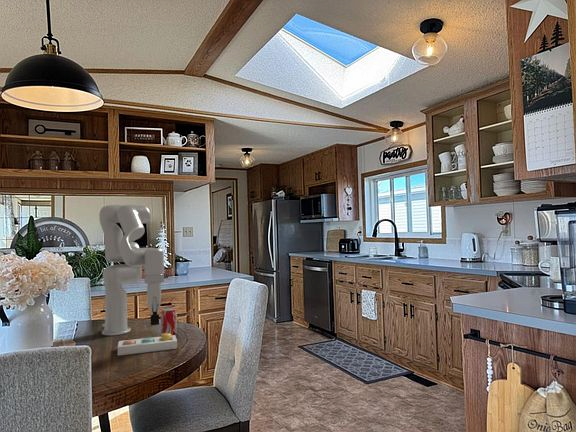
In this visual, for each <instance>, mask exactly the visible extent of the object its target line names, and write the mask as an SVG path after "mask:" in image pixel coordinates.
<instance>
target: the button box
mask: <svg viewBox="0 0 576 432" xmlns="http://www.w3.org/2000/svg"><path fill="white" fill-rule="evenodd" d="M146 338H147V337H144V338H136V339H132V340H134V341H135V344H130V345H124V341H127V339H126V340H119V341H118V344H117V356H126V355H133V354H142V353H143V354H144V353H151V352H159V351H167V350H168V351H169V350H176V349H178V339H177V336H176V335H171V340H166V341H161V336H153V337H151V338H153V342H148V343H143V339H146Z"/></svg>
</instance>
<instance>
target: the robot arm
mask: <svg viewBox="0 0 576 432" xmlns="http://www.w3.org/2000/svg"><path fill="white" fill-rule="evenodd" d="M151 215H152V214H151V211H150V209H149V207H148V206H146V205H142V204H141V205H138V204H136V205H135V204H126V205H125V204H124V205H123V204H108V205H105V206H103V207H101V208H100V210H99V215H98V216H99V224H100V226H101V229H102V231H103V232H102V233H103V240H104V241H103V242H104V243H103V244H104V254H105V259H106V261H107V262H109V263H122V262H123V263H124V264H113V265H109V266H106V267H105V269H103V272H102V280H103V284H104V285H103V286H104V295H105V297H104V301H105V302H104V307H105V308H104V309H105V311H104V315H105V317H104V319H105V321H104V323H102V324H101V327H102V328H104V329H103V330H101V335H103V336H119V335H124V334H127V333H130V332H131V330H132V328H131V327H128V294H127V291H126V290H125V288H124V287H123V286H124V285H131V284H137V283H139V282H141V280H142V278H143V269H142V267H143V266H144V284H147V285H146V294H147V295H146V296H147V297H146V302H147V303H146V307H147V309H150V310H151V311H150V312H151V313H150V326H157V325H158V326H159V325H160V313H159V308H160V307H161V304H162V301H161V300H162V284H163V283H164V282H165V258H164V257H165V255H164V254H165V251H164V249H162V248H155V247H140V245H139V244H138V243H137V242H135V241H136V240H139V239H141V238H142V237H143V235H144V234H145V227H144V225H143V224H147V223H149V222H150V220H151ZM118 224H120V226H121V227H120V226H119V225H118Z"/></svg>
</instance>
